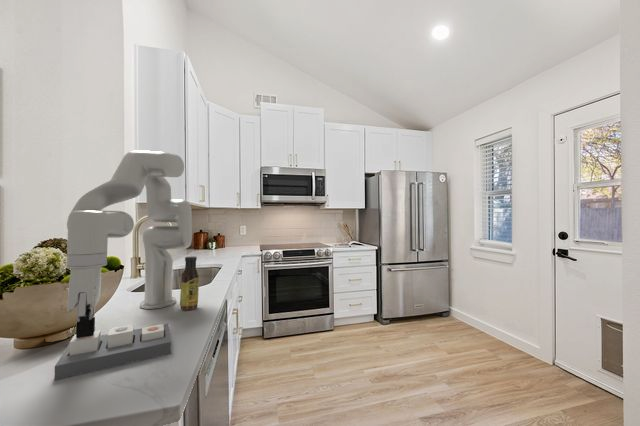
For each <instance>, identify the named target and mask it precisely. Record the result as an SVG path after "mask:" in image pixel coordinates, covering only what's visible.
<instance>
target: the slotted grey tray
mask: <svg viewBox="0 0 640 426" xmlns="http://www.w3.org/2000/svg"><path fill="white" fill-rule="evenodd" d="M163 326H164V337H162V338H157V339H152V340H147V341H142V328H143V327H141V328H136V329H134V335H133V343H132V344H127V345H122V346H117V347H112V348H108V334H109V333H107V334H101V345H100V348H99V350H97V351H92V352H86V353H81V354H76V355H71V356H70V343H69V344H68V345H67V347H66V348H65V350H64V352H62V354H61V356H60V358H59V359H58V361H57V362H56V364H55V365H54V377H53V379H54V381H58V380H61V379H65V378H71V377H74V376H80V375H83V374H87V373H92V372H96V371H100V370H105V369H109V368H113V367H118V366H123V365H127V364H132V363H135V362H140V361H144V360H148V359H154V358H157V357H158V358H159V357H162V356H167V355H170V354H172V339H171V332H170V326H169V323H163Z"/></svg>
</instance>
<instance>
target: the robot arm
mask: <svg viewBox="0 0 640 426" xmlns="http://www.w3.org/2000/svg"><path fill="white" fill-rule="evenodd" d="M184 163H185V162H184V160H183V158H182V157H181V156H179V155H177V154H176V153H175V154H173V153H169V152H165V151H154V150H153V151H150V150H131V151H128V152H126V154H124V156H123V157H122V158H121V161H120V163H119V165H118V166H117V168H116V170H115V172H114V173H113V174H112V176H111V179H109V181H105V183H104V182H103V183H102V184H100V185H98V186H97V187H95V188H93V189H91V190H89V191H88V192H86V193H85V194H83V195H82V196H81V197H80V198H79V199H78V200H77V201H76V202H75V204H74V206H73V207H72V210H71V211H70V213H69V215H68V218H67V222H66V229H67V244H66V245H67V246H66V247H67V249H66V269H69V270H70V275H69V281H68V288H67V289H68V300H67V311H68V312H71V311H72V310H74V308H75V307H76V306H77V322H76V327H75V334H76V338H81V337H87V336H92V335H93V334H94V332H95V331H96V330H95V329H96V328H95V327H96V326H95V325H96V318H95V317H96V316H95V310H96V306H97V304H98V303H99V301H100V299H101V288H102V267H106V266H107V265H108V243H109V242H108V240H109V239H118V238H120V239H121V238H124V237H126V236H128V235H130V234H131V233H132V231H133V229H134V225H135V223H134V222H135V221H134V219H133V217H132V215H130V214H129V213H127V212H125V211H121V210H104V209H105V208H107V207H109V206H112V205H115V204H119V203H122V202H126V201H129V200H132V199H134V198H137V197H138V196H140V195H141V194H142V193H143V190H144V187H145V192H146V193H145V194H146V216H147V218H148V220H149V221H151V222H153V223H175V224H176V225H151V226H149V227H146V229H145V230H144V231H143V233H142V240H143V241H142V242H143V247H144V255H145V260H144V261H145V263H144V264H145V265H144V266H145V267H144V300H142V301H141V302H140V303H139V307H140V308H142V309H145V310H150V309H151V310H154V309H161V308H166V307H169V306H172V305H174V304H176V302H177V298H176V297H173V270H174V269H173V266H174V265H173V264H174V263H173V262H174V260H173V257H172V255H171V254H170V252H169V251H168V250H183V249H187V248H190V246H191V245H192V240H193V220H192V218H193V215H192V212H193V211H192V206H191V204H190V202H189V201H188V200H186V199H183V198H182V199H181V198H180V199H178V198H172V187H171V184H170V183H169V181H168V180H167V179H166V178H179V177H182V175H183V173H184V171H185V164H184Z"/></svg>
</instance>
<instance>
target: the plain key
mask: <svg viewBox="0 0 640 426" xmlns="http://www.w3.org/2000/svg"><path fill="white" fill-rule="evenodd" d="M134 326H135V325H134V324H128V325H123V326H115V327H110V329H109V332H108V333H107V334H108V348H112V347H117V346H122V345H127V344H132V343H133V335H134V328H135V327H134Z"/></svg>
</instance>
